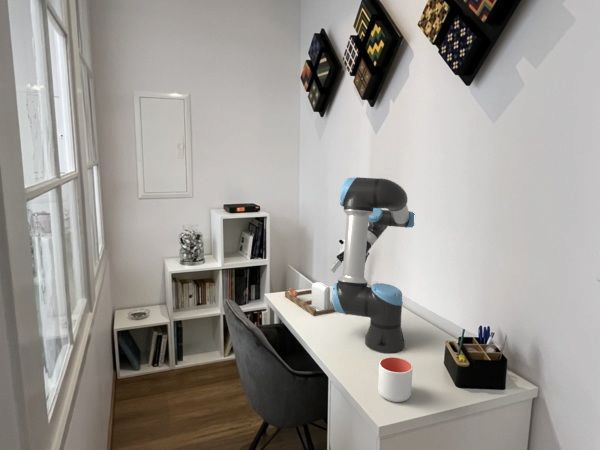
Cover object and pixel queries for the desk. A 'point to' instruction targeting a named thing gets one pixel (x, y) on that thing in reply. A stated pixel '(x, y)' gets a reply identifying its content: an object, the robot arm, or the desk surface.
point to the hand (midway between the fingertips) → (339, 274)
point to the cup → (395, 379)
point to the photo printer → (320, 296)
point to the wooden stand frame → (305, 302)
